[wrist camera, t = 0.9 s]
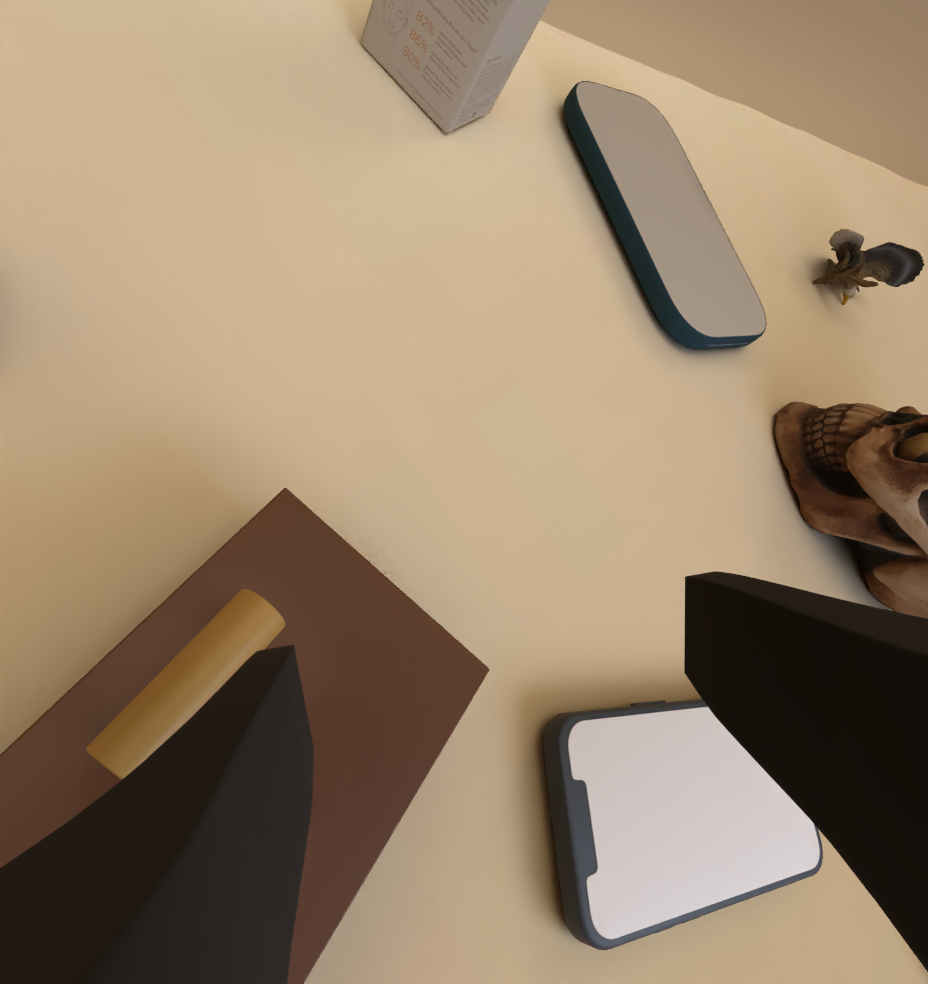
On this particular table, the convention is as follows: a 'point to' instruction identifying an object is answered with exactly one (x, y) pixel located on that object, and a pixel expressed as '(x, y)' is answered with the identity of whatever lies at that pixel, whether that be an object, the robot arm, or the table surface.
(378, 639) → the brown box lid
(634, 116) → the external hard drive
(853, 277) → the eagle figurine
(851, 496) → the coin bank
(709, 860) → the smartphone
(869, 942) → the table surface
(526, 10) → the small box
